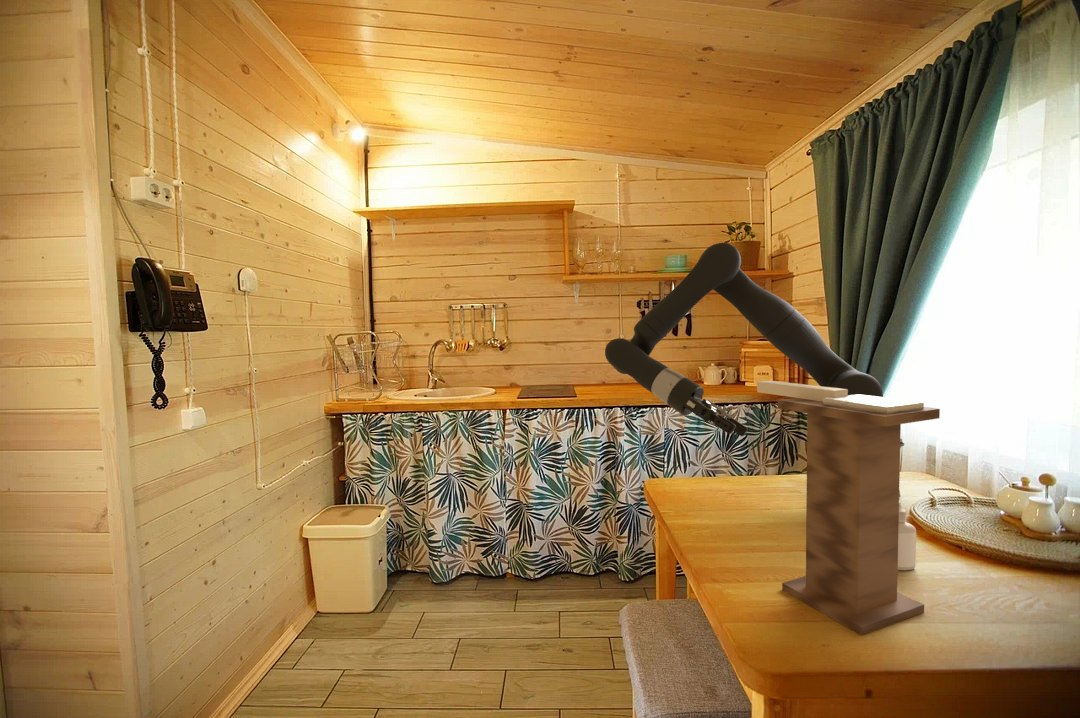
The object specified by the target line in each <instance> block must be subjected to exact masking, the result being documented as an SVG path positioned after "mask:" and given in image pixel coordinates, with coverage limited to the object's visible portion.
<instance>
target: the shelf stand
mask: <svg viewBox="0 0 1080 718" xmlns="http://www.w3.org/2000/svg"><path fill="white" fill-rule="evenodd" d="M777 408H778V409H780V410H781V409H782V410H787V411H793V412H799V413H804V414H806V415H807V417H806V419H807V420H806V423H807V425H806V426H807V427H806V510H805V511H806V517H805V518H806V523H805V524H806V526H805V538H806V539H805V576H800V577H797V578H795V579H791V580H787V581H784V582H782V584H781V585H782V586H781V589H782V591H784V592H785V593H787V594H789V595H790V596H792V597H794V598H795V599H797V600H799V601H801V602H803V603H805V604H806V605H808V606H811V607H812V608H814V609H816V610H817V611H819V612H820V613H822V614H824V615H825V616H828V617H829V618H831V619H833V620H834V621H836V622H838V623H840V624H842V625H843V626H845V627H847V628H848V629H850V630H852V631H853V632H855V633H857V634H859V635H861V636H863V635H867V634H869V633H871V632H875V631H877V630H880V629H883V628H885V627H888V626H890V625H893V624H895V623H899V622H901V621H904V620H907V619H909V618H911V617H915V616H916V615H920V614H923V613H925V604H924V603H921V602H919V601H917V600H916V599H913V598H911V597H908V596H907V595H904V594H902V593H900V592H898V571H899V570H898V526H899V502H900V497H899V490H900V479H901V477H900V475H901V474H900V473H901V471H900V469H901V468H900V466H901V465H900V464H901V448H900V438H901V427H902V425H904V424H910V423H918V422H923V421H933V420H936V419H937V420H938V419H940V415H941V413H940V412H941V411H940V410H941V409H940V408H936V407H928V406H924V409H920V410H913V411H906V412H898V413H891V414H884V413H877V412H870V411H864V410H857V409H850V408H844V407H837V406H830V405H824V404H823V401H816V400H809V399H802V398H795V397H790V398H783V399H777Z"/></svg>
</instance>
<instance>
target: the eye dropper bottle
mask: <svg viewBox="0 0 1080 718" xmlns="http://www.w3.org/2000/svg"><path fill="white" fill-rule="evenodd" d="M916 556H917V529H916V527H915V526H914V525H912V524H911V523H910V522H907V511H906V509H904V508H902V505H901V502H900V501H899V526H898V571H910V570H914V569H915V568H916V565H917V564H916V562H917V560H916V559H917V557H916Z"/></svg>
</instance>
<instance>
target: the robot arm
mask: <svg viewBox="0 0 1080 718" xmlns="http://www.w3.org/2000/svg"><path fill="white" fill-rule="evenodd" d="M741 264H742V257H741V254H740V251H739V250H738V248H737V247H735V246H734V244H731V243H727V242H717V243H714V244H712V245H710V246H708V247H706V249H705V250H704V251H703V252H702V254H701V255H700V257H699V259H698V261H697V263H696V264H695V265H694V266H693V268H692V269H691V270H690V272H689V273H688V274H687V275H686V276H685V277H684V278H683V280H681V281H680V283H678V284H677V285H676V286H675V287H674V288H673V289H671V291H670V292H669V293H667V295H665V297H663V298H662V299H661V300H660V301H659V302H658V303H657V304H655V305H654V306H653V307H652V308H651V309H649V311H648V312H647V313H646V314H644V315H643V317H641V318H640V320H638V322H637V323H635V326H634V328H633V332H634V334H633V336H632V338H631V339H630V340H628V339H626V338H621V337H619V338H618V337H617V338H614V339H612V340H610V341H608V342H607V344H606V346H605V347H604V348H605V349H604V355H605V359H606V361H607V362H608V364H610V365H611V366H612V367H613V368H614V369H615V370H616V371H617V372H618V373H620V374H623V375H628V376H630V377H631V378H633V380H634V381H635V382H636V383H637V384H639V385H640V386H641V387H643V388H644V389H645V390H647V391H649V392H650V393H651V394H653V395H654V396H655V397H656V398H657V399H658V400H660V401H661V402H663V403H664V404H666V405H667V406H669V407H670V408H672V409H673V410H675V411H676V412H677V413H679V414H680V415H682V416H688V415H690V414H692V413H693V414H694V415H695V416H696V417H698V418H699V419H701V420H703V421H704V422H706V423H709V424H710V425H715V426H716V427H717V428H719V429H721V430H722V431H723V432H725V433H727V434H729V435H732V434H733V433H736V434H737V435H739V436H740V437H744V436H746V433H747V432H748V431H749V428H748V426H745V425H744V424H743V423H741V422H739V421H738V420H737V419H734V416H733V415H732V414H730V413H728V412H727V411H725V410H724V408H721V407H720V406H718V405H716V404H715V402H713V401H711V400H710V399H706V398H703V397H704V387H703V386H701V385H700V384H698V383H696V382H695V381H693V380H692V379H690V378H689V377H686V376H685V375H683V374H682V373H680V372H679V371H676V370H674V369H672V368H669V367H668V366H667V365H665V364H663V363H662V362H660V361H658V359H657V360H656V359H654V358H653V357H652V356H650V355H651V354H652V353H653V350H654V349H655V347H656V345H657V344H659V342H661V341H662V340H663V339H664V338H665V337H666V336H667V335H668V334H669V333H670V332H671V331H672V330H673V329H674V328H675V327H676V326H677V325H678V324H679V323H680V322H681V321H682V320H683V319H684V317H686V315H687V314H688V313H689V312H690V311H691V310H692V309H693V308H694V306H696V305H697V304H698V303H699V302H700V301H701V300H702V299H703V298H704V297H705V296H706V295H708V294H709V293H710V292H711V291H715V293H717V294H718V295H720V296H721V297H722V298H724V299H725V300H726V301H727V302H728V303H730V304H731V305H732V306H733V307H734V308H736V310H738V311H739V313H740V314H741V315H742V316H743V318H745V319H746V320H747V321H748V322H749V323H750V324H751V326H752V327H754V328H755V329H756V331H758V332H759V333H760V334H761V335H762V337H764V338H765V339H766V340H767V341H768V342H769V343H770V344H771V345H772V346H773V347H775V348H776V349H777V350H778V351H779V352H781V353H782V354H783V355H784V356H785V357H787V358H788V359H789V360H791V361H792V362H794V363H795V364H796V365H797V366H799V367H800V368H801V369H802V370H804V371H805V372H807V373H808V375H809V376H811V378H812V379H813V380H814V381H815V382H816V383H817V384H818V386H822V387H831V388H840V389H848V395H857V394H859V395H868V396H876V397H884V391H883V388H882V385H881V383H880V382H879V380H877V379H876V378H875V377H874V376H872V375H870V374H868V373H865V372H862V371H859V370H858V369H856V368H854V367H853V366H852V365H850V364H849V363H848V362H846V361H845V360H844V359H843V358H841V357H839V356H838V355H837V354H836V353H835V352H834V351H833V350H832V349H831V348H830V347H829V345H827V343H826V342H825V340H824V339H823V337H822V336H821V335H820V333H819V332H818V331H817V330H816V328H815V326H814V325H813V324H812V323H811V322H810V321H809V320H808V319H807V318H806V317H805V316H804V315H803V314H801V313H800V312H799V311H798V310H797V309H796V308H795V307H794V306H793V305H791V304H790V303H789V302H788V301H786V300H785V299H782V298H781V297H779V296H778V295H776V294H774V293H772V292H770V291H768V289H767V290H766V289H764V288H762V287H761V286H760V285H758V284H757V283H756V282H754V281H753V280H752V279H751V278H750V277H749V276H748V275H747V274H746V273H745V272H744V271H743V270H742V269H741Z"/></svg>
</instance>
